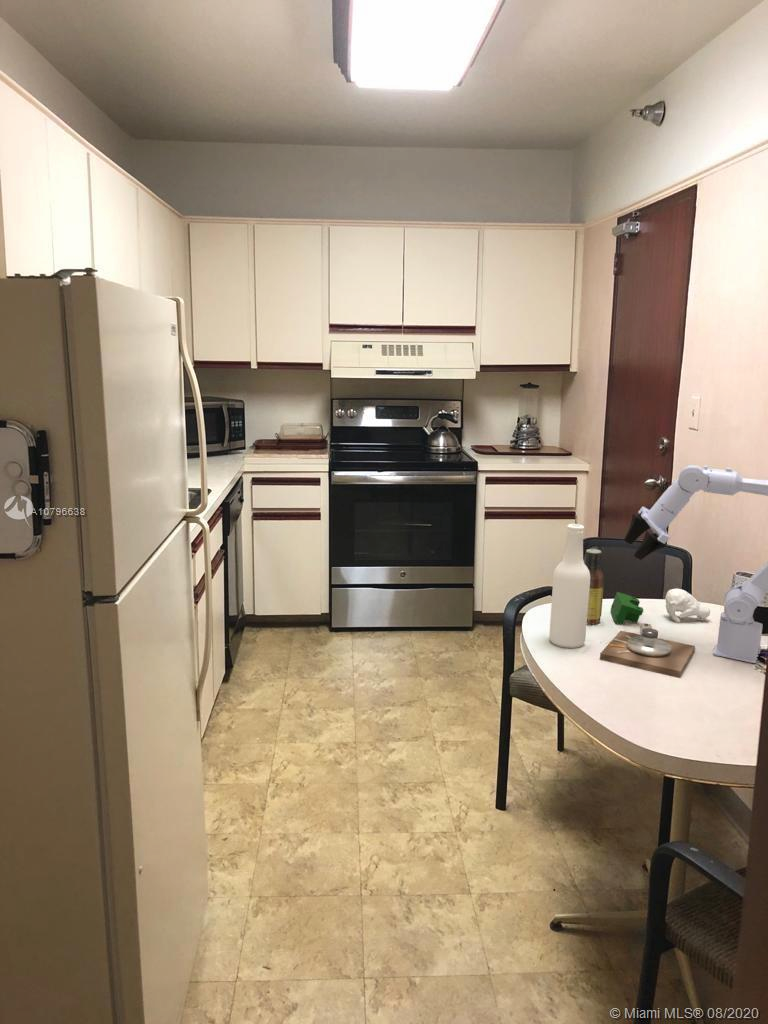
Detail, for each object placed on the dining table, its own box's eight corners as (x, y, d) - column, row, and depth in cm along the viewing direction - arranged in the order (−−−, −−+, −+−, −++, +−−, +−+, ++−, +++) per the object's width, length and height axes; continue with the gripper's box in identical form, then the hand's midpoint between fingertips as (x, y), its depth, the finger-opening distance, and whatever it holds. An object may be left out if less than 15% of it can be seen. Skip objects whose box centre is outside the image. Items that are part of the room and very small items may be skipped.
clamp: (631, 639, 202) (644, 616, 196) (609, 632, 203) (621, 609, 197) (631, 610, 211) (644, 587, 206) (610, 603, 212) (622, 580, 206)
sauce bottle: (582, 615, 206) (588, 545, 202) (604, 620, 203) (610, 550, 198) (572, 621, 202) (577, 550, 197) (594, 627, 198) (600, 554, 194)
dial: (674, 658, 174) (676, 640, 173) (629, 654, 176) (630, 636, 175) (665, 638, 186) (667, 621, 185) (623, 634, 188) (625, 617, 187)
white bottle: (553, 648, 183) (562, 529, 176) (545, 635, 191) (553, 521, 185) (589, 649, 183) (599, 529, 177) (579, 635, 192) (588, 521, 185)
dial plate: (694, 651, 183) (695, 645, 182) (679, 677, 168) (680, 670, 167) (620, 635, 192) (620, 629, 192) (599, 659, 177) (600, 652, 177)
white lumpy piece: (665, 584, 207) (709, 590, 206) (659, 613, 209) (703, 619, 208) (672, 591, 201) (717, 598, 200) (665, 621, 202) (710, 628, 202)
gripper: (644, 487, 187) (610, 528, 193) (665, 514, 175) (629, 558, 180) (666, 499, 189) (632, 540, 195) (688, 527, 176) (651, 570, 182)
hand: (632, 549), depth 187 cm, fingers open, 7 cm apart
